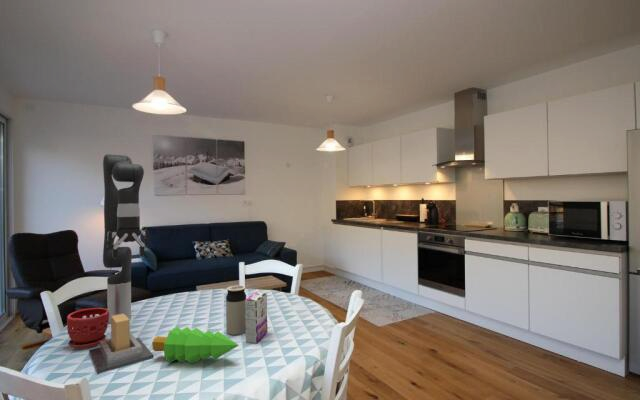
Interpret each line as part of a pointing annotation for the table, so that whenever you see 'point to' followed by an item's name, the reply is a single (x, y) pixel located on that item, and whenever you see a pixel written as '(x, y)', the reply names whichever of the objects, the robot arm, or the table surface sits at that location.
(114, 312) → the robot arm
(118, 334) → the tan rectangular block
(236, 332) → the travel mug
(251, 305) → the candy bar box
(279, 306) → the table surface
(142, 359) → the duct flange
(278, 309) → the table surface
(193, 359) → the decorative tree
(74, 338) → the plant pot
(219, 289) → the table surface
